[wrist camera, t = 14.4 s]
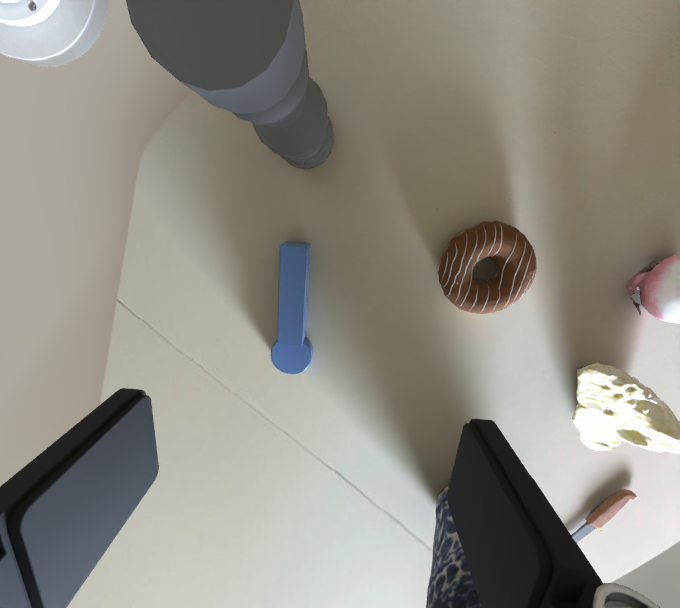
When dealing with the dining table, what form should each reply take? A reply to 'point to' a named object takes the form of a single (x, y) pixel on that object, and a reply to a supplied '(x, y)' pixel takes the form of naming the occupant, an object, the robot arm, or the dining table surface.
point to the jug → (449, 565)
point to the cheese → (622, 412)
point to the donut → (511, 273)
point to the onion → (659, 289)
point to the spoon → (292, 310)
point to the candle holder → (243, 66)
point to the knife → (604, 513)
